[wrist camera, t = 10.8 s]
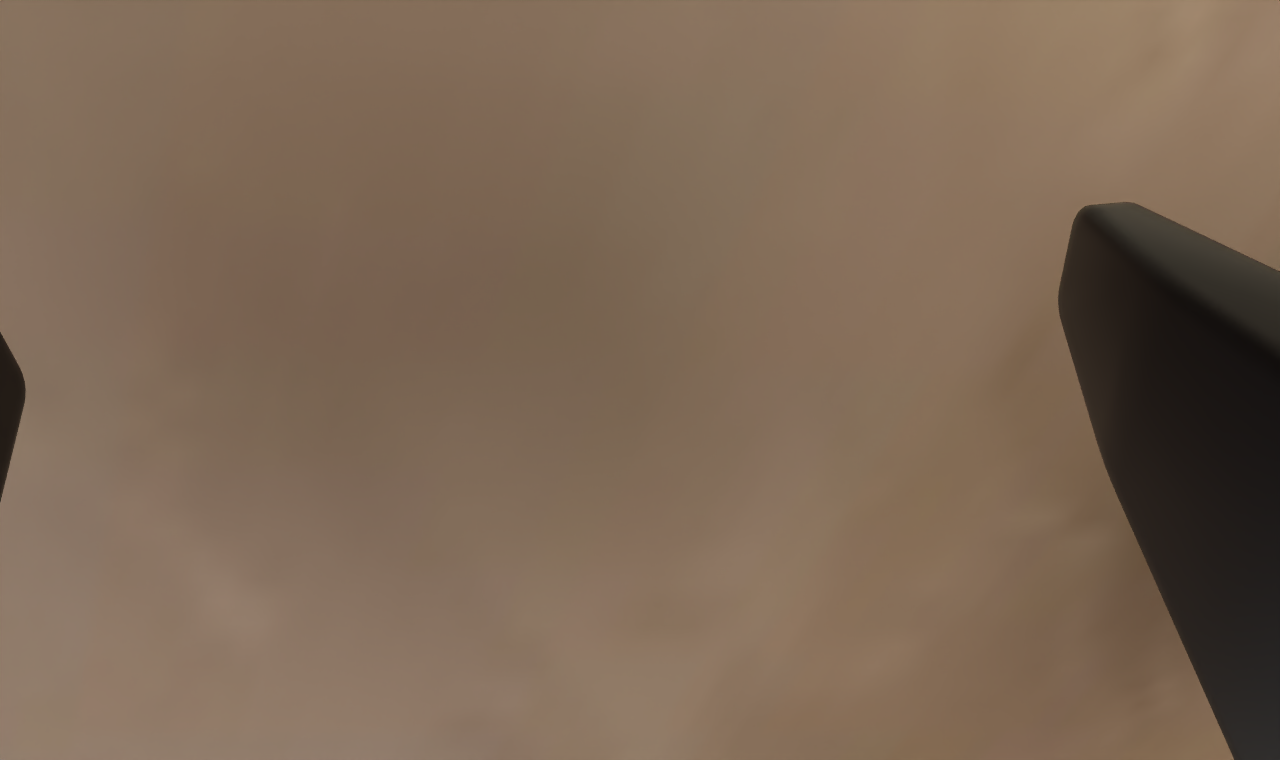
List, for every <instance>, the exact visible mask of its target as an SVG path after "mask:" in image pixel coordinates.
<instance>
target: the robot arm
mask: <svg viewBox="0 0 1280 760" xmlns="http://www.w3.org/2000/svg"><path fill="white" fill-rule="evenodd" d="M1058 305H1059V314H1060V319H1061V322H1062V326H1063V329H1064V332H1065V336H1066V339H1067V343H1068V346H1069V349H1070V353H1071V356H1072V359H1073V363H1074V366H1075V369H1076V373H1077V376H1078V380H1079V383H1080V386H1081V390H1082V393H1083V396H1084V400H1085V403H1086V407H1087V410H1088V413H1089V417H1090V420H1091V423H1092V427H1093V430H1094V433H1095V437H1096V440H1097V443H1098V446H1099V449H1100V453H1101V456H1102V459H1103V462H1104V465H1105V467H1106V470H1107V472H1108V475H1109V477H1110V480H1111V482H1112V484H1113V487H1114V489H1115V492H1116V494H1117V496H1118V499H1119V501H1120V503H1121V505H1122V508H1123V510H1124V512H1125V514H1126V517H1127V519H1128V521H1129V523H1130V526H1131V528H1132V530H1133V532H1134V535H1135V537H1136V539H1137V541H1138V544H1139V546H1140V548H1141V550H1142V553H1143V555H1144V557H1145V559H1146V562H1147V564H1148V566H1149V568H1150V571H1151V573H1152V575H1153V577H1154V580H1155V582H1156V584H1157V586H1158V589H1159V591H1160V593H1161V595H1162V598H1163V600H1164V602H1165V604H1166V607H1167V609H1168V611H1169V613H1170V616H1171V618H1172V620H1173V622H1174V625H1175V627H1176V629H1177V631H1178V634H1179V636H1180V638H1181V640H1182V643H1183V645H1184V647H1185V649H1186V652H1187V654H1188V656H1189V658H1190V661H1191V663H1192V665H1193V667H1194V670H1195V672H1196V674H1197V676H1198V679H1199V681H1200V683H1201V685H1202V688H1203V690H1204V692H1205V694H1206V697H1207V699H1208V701H1209V703H1210V706H1211V708H1212V710H1213V712H1214V715H1215V717H1216V719H1217V721H1218V724H1219V726H1220V728H1221V730H1222V733H1223V735H1224V737H1225V739H1226V742H1227V744H1228V746H1229V748H1230V751H1231V753H1232V755H1233V757H1234V760H1280V272H1279V271H1277V270H1275V269H1273V268H1271V267H1269V266H1267V265H1265V264H1263V263H1260V262H1258V261H1256V260H1254V259H1252V258H1250V257H1248V256H1246V255H1244V254H1241V253H1239V252H1237V251H1235V250H1233V249H1231V248H1229V247H1227V246H1225V245H1222V244H1220V243H1218V242H1216V241H1214V240H1212V239H1210V238H1208V237H1206V236H1203V235H1201V234H1199V233H1197V232H1195V231H1193V230H1191V229H1189V228H1187V227H1184V226H1182V225H1180V224H1178V223H1176V222H1174V221H1172V220H1170V219H1168V218H1165V217H1163V216H1161V215H1159V214H1157V213H1155V212H1153V211H1151V210H1149V209H1146V208H1144V207H1142V206H1140V205H1138V204H1135V203H1130V202H1122V203H1110V204H1098V205H1089V206H1085V207H1084V208H1082V209H1081V210H1080V211H1079V212H1078V213H1077V215H1076V217H1075V219H1074V222H1073V225H1072V230H1071V234H1070V239H1069V244H1068V249H1067V254H1066V258H1065V263H1064V268H1063V273H1062V277H1061V282H1060V287H1059V295H1058ZM25 390H26V389H25V381H24V378H23V374H22V372H21V369H20V367H19V365H18V363H17V362H16V360H15V358H14V356H13V354H12V352H11V351H10V349H9V347H8V345H7V343H6V342H5V340H4V338H3V336H2V334H1V332H0V501H1V497H2V493H3V489H4V485H5V481H6V477H7V473H8V469H9V464H10V460H11V456H12V452H13V448H14V444H15V440H16V436H17V432H18V427H19V423H20V419H21V415H22V411H23V407H24V403H25Z"/></svg>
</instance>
